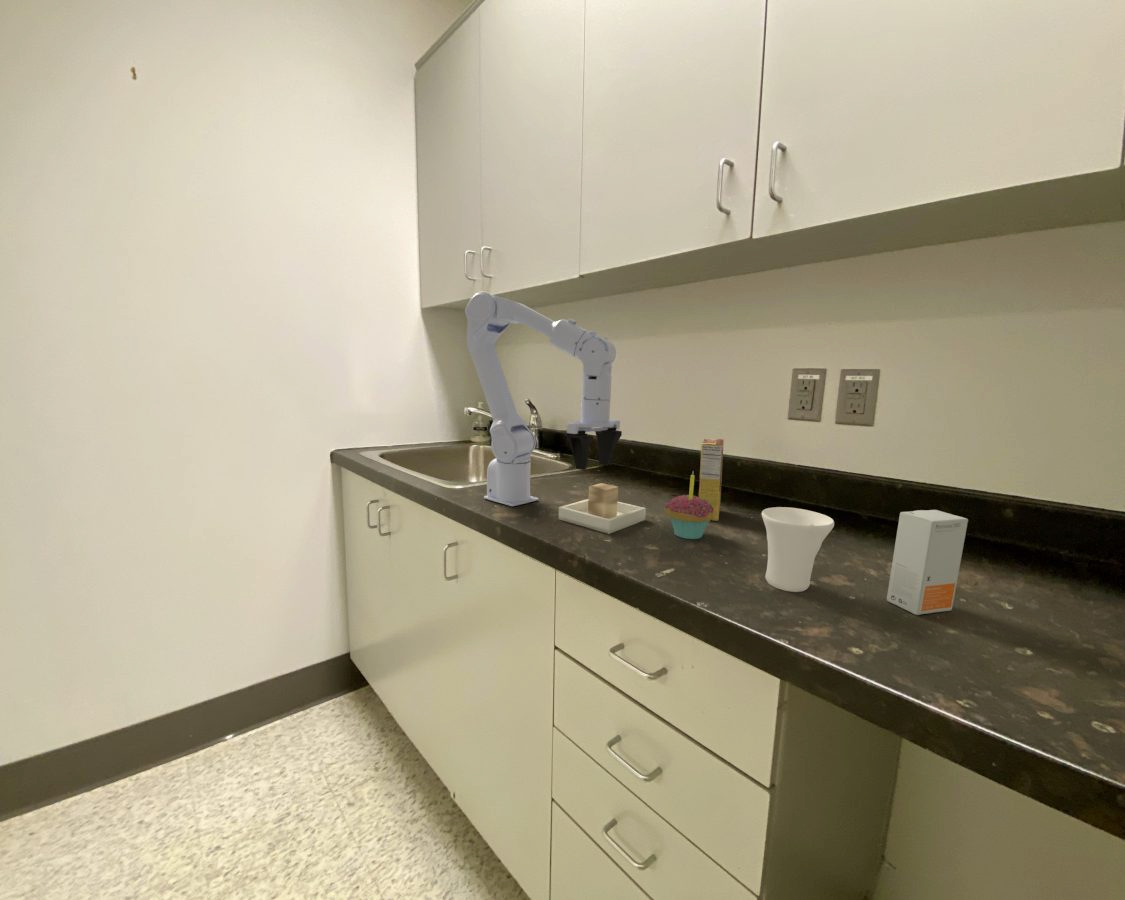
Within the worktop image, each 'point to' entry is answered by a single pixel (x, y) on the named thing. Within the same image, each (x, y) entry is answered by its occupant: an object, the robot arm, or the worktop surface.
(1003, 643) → the worktop surface
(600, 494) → the wooden block
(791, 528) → the cup
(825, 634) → the worktop surface
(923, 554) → the skincare box
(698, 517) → the cupcake
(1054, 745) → the worktop surface
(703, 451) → the candy box
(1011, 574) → the worktop surface
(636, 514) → the tray
